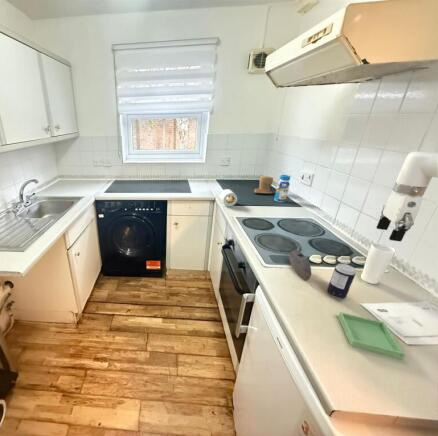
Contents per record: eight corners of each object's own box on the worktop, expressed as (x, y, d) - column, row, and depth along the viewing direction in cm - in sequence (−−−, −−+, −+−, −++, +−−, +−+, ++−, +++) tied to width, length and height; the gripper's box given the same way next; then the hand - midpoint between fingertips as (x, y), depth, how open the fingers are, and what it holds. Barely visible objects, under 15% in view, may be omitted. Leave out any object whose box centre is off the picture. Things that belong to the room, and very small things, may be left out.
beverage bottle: (276, 198, 192) (281, 174, 185) (287, 200, 187) (293, 175, 179) (272, 200, 187) (277, 175, 179) (283, 203, 181) (289, 177, 174)
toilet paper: (219, 201, 185) (220, 189, 181) (232, 201, 185) (234, 189, 181) (222, 205, 176) (224, 193, 172) (236, 206, 176) (238, 193, 172)
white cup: (384, 287, 91) (400, 253, 85) (362, 283, 93) (376, 250, 87) (374, 277, 97) (389, 244, 91) (354, 273, 99) (367, 242, 93)
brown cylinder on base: (269, 191, 211) (272, 174, 205) (273, 195, 200) (277, 177, 194) (251, 190, 213) (254, 174, 207) (254, 194, 202) (257, 177, 196)
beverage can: (348, 301, 83) (359, 273, 79) (329, 298, 85) (339, 270, 81) (342, 291, 88) (352, 264, 84) (324, 288, 90) (333, 261, 86)
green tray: (381, 326, 74) (383, 322, 73) (402, 359, 63) (405, 354, 63) (337, 316, 77) (339, 311, 77) (351, 346, 67) (353, 341, 67)
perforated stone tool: (313, 284, 92) (318, 269, 90) (298, 282, 93) (303, 267, 91) (299, 263, 106) (303, 249, 103) (286, 261, 107) (289, 248, 104)
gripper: (441, 198, 71) (415, 247, 78) (408, 184, 86) (388, 226, 93) (408, 195, 74) (386, 243, 81) (382, 182, 89) (365, 223, 96)
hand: (387, 234), depth 87 cm, fingers open, 9 cm apart
